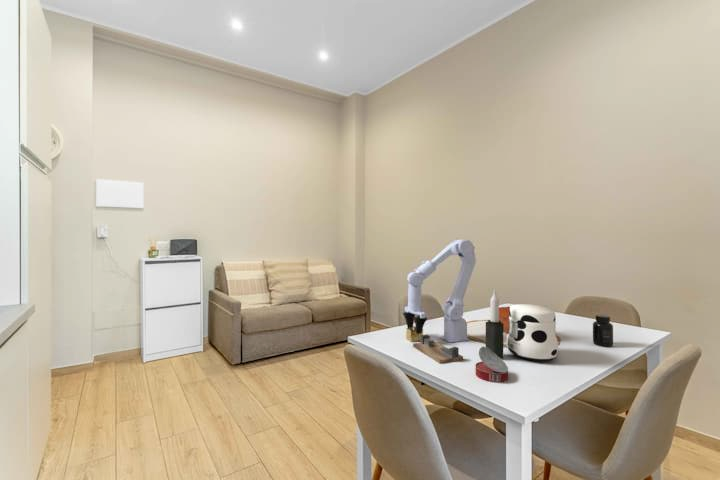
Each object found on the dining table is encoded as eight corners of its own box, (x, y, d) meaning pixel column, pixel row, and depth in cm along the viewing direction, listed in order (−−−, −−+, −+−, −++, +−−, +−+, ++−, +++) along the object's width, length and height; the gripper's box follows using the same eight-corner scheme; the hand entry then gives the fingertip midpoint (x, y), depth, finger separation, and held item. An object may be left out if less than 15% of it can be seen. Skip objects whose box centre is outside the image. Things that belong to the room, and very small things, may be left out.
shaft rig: (434, 343, 138) (434, 333, 138) (463, 359, 120) (463, 347, 120) (413, 346, 135) (413, 335, 135) (439, 363, 117) (439, 351, 117)
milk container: (563, 355, 125) (564, 308, 124) (550, 368, 112) (550, 316, 112) (516, 344, 137) (516, 301, 136) (499, 355, 124) (499, 308, 124)
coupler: (418, 337, 146) (418, 325, 146) (423, 340, 143) (423, 327, 142) (406, 339, 144) (406, 326, 144) (410, 342, 140) (410, 329, 140)
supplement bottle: (614, 344, 137) (614, 315, 137) (612, 348, 132) (612, 319, 132) (594, 341, 142) (594, 313, 141) (591, 344, 137) (591, 316, 136)
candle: (495, 360, 120) (495, 291, 120) (484, 355, 124) (484, 289, 124) (504, 357, 122) (505, 290, 122) (493, 353, 127) (493, 288, 126)
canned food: (493, 384, 111) (506, 357, 112) (508, 395, 101) (521, 365, 102) (464, 368, 111) (476, 341, 112) (475, 378, 101) (489, 348, 102)
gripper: (398, 297, 149) (398, 327, 149) (415, 303, 135) (414, 336, 135) (412, 296, 151) (412, 325, 151) (429, 302, 137) (429, 334, 138)
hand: (414, 330), depth 143 cm, fingers open, 7 cm apart
